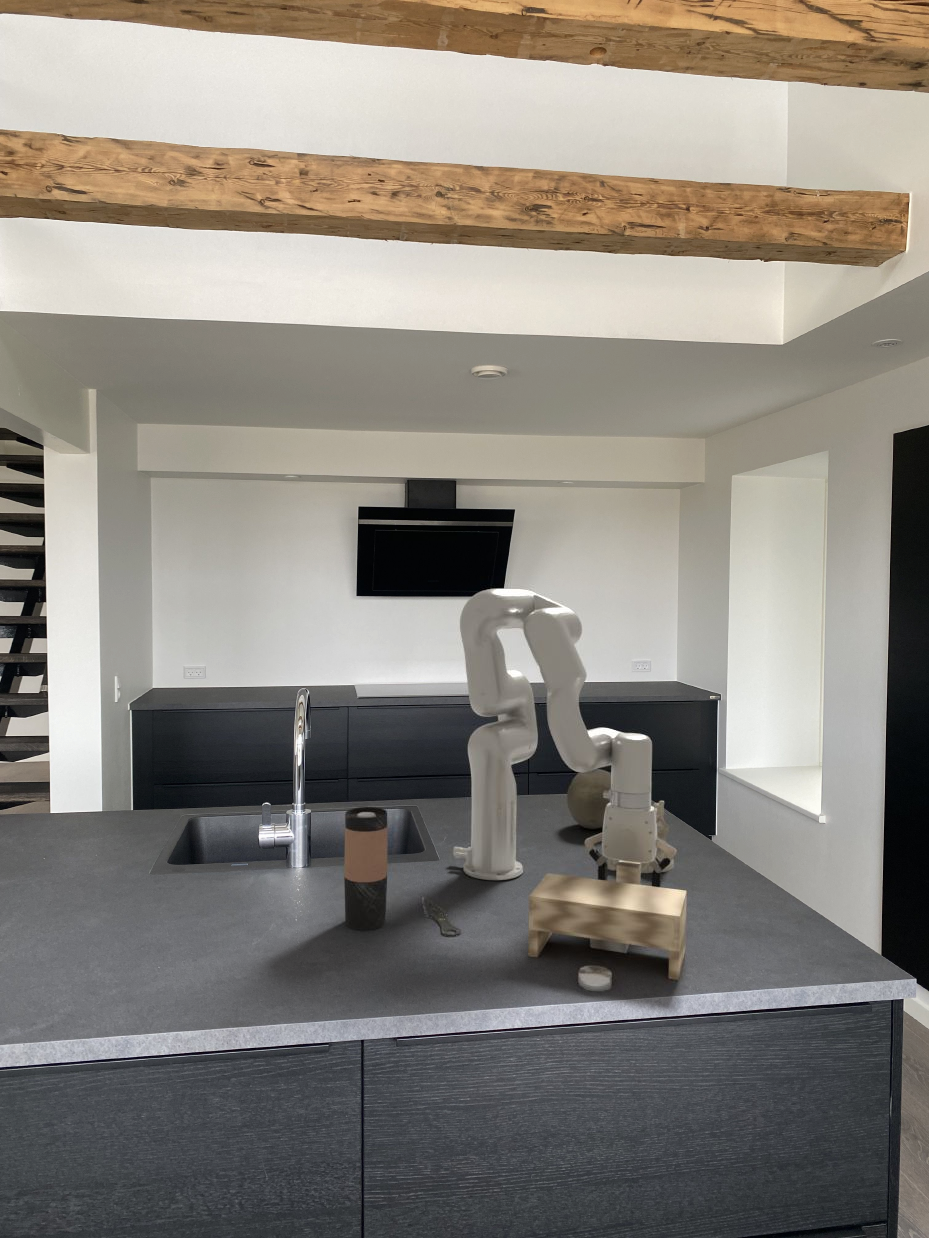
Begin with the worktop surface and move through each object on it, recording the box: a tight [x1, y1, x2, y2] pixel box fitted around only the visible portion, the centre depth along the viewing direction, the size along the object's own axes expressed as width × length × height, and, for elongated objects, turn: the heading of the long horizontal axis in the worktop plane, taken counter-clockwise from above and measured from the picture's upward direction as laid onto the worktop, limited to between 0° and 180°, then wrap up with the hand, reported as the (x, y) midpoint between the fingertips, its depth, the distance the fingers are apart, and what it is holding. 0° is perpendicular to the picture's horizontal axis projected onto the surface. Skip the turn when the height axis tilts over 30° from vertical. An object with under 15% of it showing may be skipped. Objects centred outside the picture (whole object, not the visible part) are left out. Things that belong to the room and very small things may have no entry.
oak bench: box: [527, 872, 688, 981], centre depth 142 cm, size 24×12×10 cm, turn 71°
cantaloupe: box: [566, 768, 611, 830], centre depth 215 cm, size 14×14×15 cm
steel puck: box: [577, 964, 613, 993], centre depth 131 cm, size 5×5×2 cm
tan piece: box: [589, 860, 642, 954], centre depth 155 cm, size 6×24×8 cm, turn 161°
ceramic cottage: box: [606, 800, 675, 874], centre depth 190 cm, size 16×16×15 cm
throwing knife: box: [421, 896, 462, 937], centre depth 158 cm, size 4×20×1 cm, turn 19°
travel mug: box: [343, 806, 388, 931], centre depth 153 cm, size 8×8×20 cm
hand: (629, 887), depth 164 cm, fingers open, 9 cm apart
